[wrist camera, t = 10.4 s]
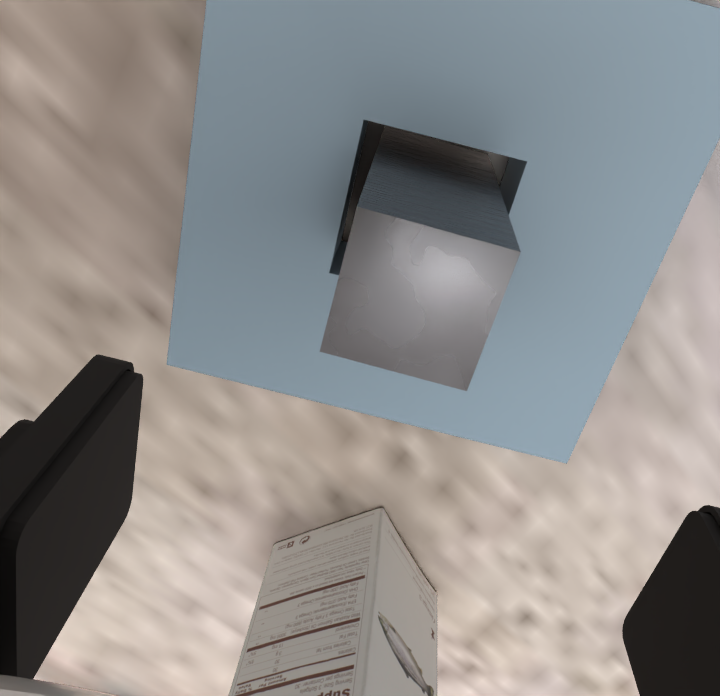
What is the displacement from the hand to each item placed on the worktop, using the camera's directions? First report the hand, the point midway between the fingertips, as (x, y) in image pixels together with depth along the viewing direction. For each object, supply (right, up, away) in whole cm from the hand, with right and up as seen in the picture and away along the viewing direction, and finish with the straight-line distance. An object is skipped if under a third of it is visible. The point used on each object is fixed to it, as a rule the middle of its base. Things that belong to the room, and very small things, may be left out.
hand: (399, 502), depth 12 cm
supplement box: (-1, -10, +28) cm, 30 cm away
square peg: (+2, +9, +18) cm, 20 cm away
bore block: (+2, +9, +18) cm, 20 cm away
